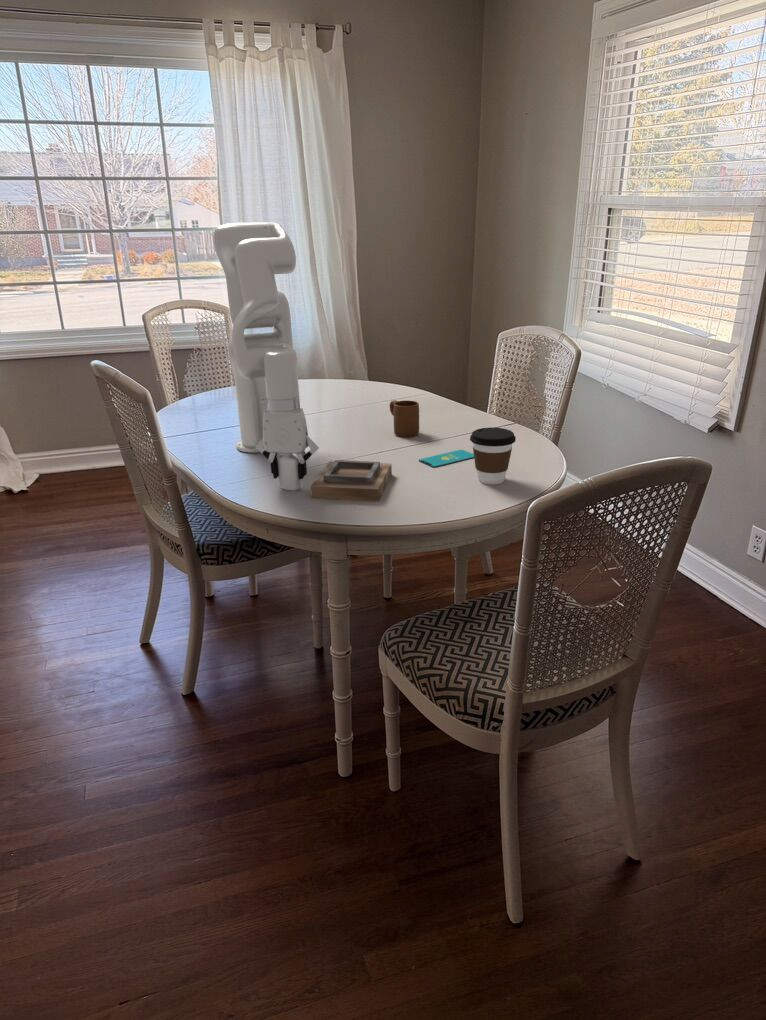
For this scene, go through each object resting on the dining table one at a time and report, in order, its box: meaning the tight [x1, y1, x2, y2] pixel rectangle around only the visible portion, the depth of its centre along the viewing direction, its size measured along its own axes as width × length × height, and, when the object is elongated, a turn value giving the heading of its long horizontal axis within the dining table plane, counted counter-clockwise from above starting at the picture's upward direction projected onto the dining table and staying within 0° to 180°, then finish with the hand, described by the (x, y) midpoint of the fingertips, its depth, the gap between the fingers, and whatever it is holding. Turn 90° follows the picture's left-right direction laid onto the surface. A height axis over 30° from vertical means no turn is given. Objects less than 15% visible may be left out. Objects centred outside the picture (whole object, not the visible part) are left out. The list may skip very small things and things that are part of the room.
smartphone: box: [418, 449, 474, 469], centre depth 189 cm, size 7×1×15 cm
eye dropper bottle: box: [277, 453, 302, 491], centre depth 170 cm, size 4×6×12 cm
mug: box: [389, 399, 420, 438], centre depth 211 cm, size 12×8×9 cm, turn 34°
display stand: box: [310, 459, 393, 502], centre depth 171 cm, size 18×16×4 cm
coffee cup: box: [469, 426, 517, 485], centre depth 171 cm, size 11×11×12 cm
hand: (289, 476), depth 171 cm, fingers closed on eye dropper bottle, 5 cm apart
